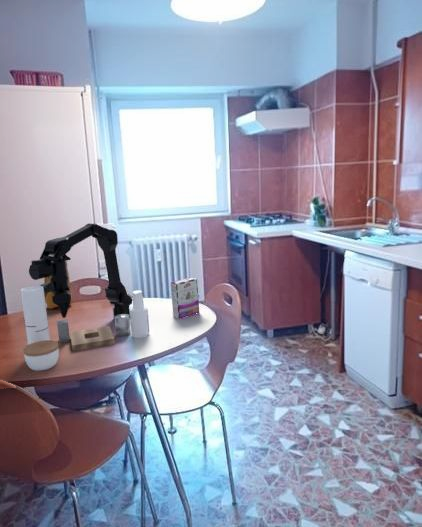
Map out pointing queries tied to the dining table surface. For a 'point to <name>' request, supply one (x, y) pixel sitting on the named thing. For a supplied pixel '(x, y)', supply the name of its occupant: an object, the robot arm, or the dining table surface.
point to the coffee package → (49, 295)
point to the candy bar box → (185, 297)
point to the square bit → (63, 331)
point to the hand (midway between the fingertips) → (63, 314)
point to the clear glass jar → (122, 325)
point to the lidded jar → (41, 354)
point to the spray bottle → (139, 316)
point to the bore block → (92, 338)
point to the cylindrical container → (35, 314)
